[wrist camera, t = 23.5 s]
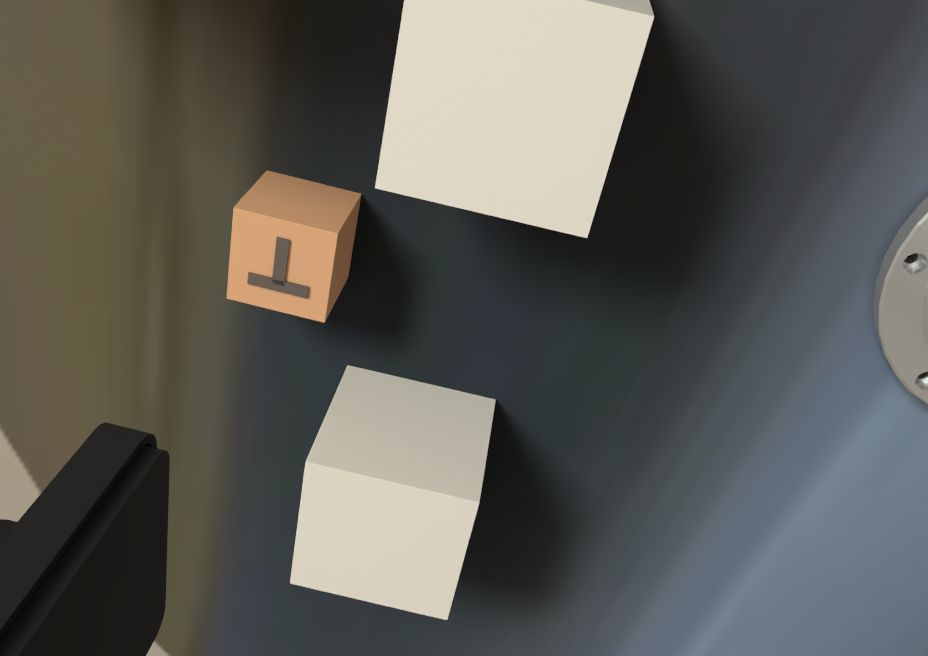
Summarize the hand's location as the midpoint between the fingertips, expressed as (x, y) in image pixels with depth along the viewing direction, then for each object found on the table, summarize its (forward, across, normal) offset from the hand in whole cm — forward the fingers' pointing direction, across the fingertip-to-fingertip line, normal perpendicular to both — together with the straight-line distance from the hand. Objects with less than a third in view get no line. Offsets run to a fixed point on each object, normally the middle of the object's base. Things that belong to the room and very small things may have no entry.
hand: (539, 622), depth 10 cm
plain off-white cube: (+26, +4, +19) cm, 32 cm away
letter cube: (+26, +10, +9) cm, 29 cm away
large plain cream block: (+26, +2, 0) cm, 26 cm away
